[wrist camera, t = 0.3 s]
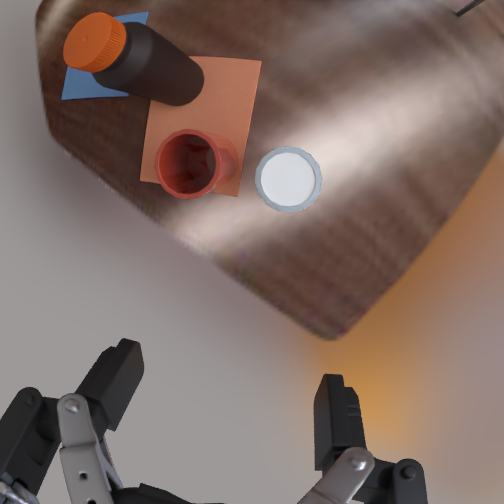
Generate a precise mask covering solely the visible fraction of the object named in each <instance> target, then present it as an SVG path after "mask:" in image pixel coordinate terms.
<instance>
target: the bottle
mask: <svg viewBox="0 0 504 504" xmlns="http://www.w3.org/2000/svg"><path fill="white" fill-rule="evenodd" d="M63 49H64V50H63V54H64V59H65V60H64V61H65V63H66V64H67V65H68V66H69V67H71V68H73V69H77V70H81V71H85V72H91V73H92V76H93V77H94V79H95V81H96V82H97V83H98V84H100V85H101V86H103V87H105V88H109V89H113V90H117V91H121V92H125V93H129V94H132V95H136V96H140V97H143V98H147V99H150V100H154V101H157V102H160V103H164V104H167V105H171V106H183V105H185V104H188V103H190V102H192V101H193V100H194V99H196V98H197V96H198V95H199V94H200V92H201V91H202V88H203V85H204V74H203V70H202V69H201V67H200V66H199V65H198V64H197V63H196V62H195V61H194V60H192V59H191V58H190V57H188V56H187V55H186V54H185V53H183V52H182V51H181V50H179V49H178V48H177V47H176V46H174V45H173V44H172V43H170V42H169V41H168V40H166V39H165V38H164V37H162V36H161V35H159V34H158V33H157V32H155V31H154V30H152V29H151V28H150V27H148V26H146V25H144V24H142V23H140V22H125V23H121V22H120V21H118V20H116V19H115V18H113V17H111V16H109V15H108V14H106V13H103V12H96V13H92V14H90V15H88V16H86V17H84V18H83V19H82V20H80V21H79V22H78V23H77V24H76V25H75V26H74V27H73V29H72V30H71V32H70V33H69V34H68V37H67V39H66V41H65V44H64V48H63Z"/></svg>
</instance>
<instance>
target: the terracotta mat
mask: <svg viewBox="0 0 504 504" xmlns="http://www.w3.org/2000/svg"><path fill="white" fill-rule="evenodd" d="M188 57H190V58H191V59H192V60H194V61H195V62H196V63H197V64H198V65H199V66H200V67H201V69H202V70H203V74H204V85H203V88H202V91H201V92H200V94H199V95H198V96H197V98H196V99H194V100H193V101H192V102H190V103H188V104H185V105H183V106H171V105H167V104H164V103H160V102H157V101H154V100H151V103H150V109H149V115H148V121H147V128H146V134H145V141H144V149H143V157H142V166H141V175H140V181H146V182H153V183H159V184H160V182H159V181H158V179H157V175H156V171H155V158H156V153H157V151H158V149H159V147H160V145H161V143H162V142H163V141H164V140H165V139H166V138H167V137H168V136H169V135H171V134H172V133H174V132H177V131H180V130H183V129H192V130H200V131H205V132H210V133H214V134H219V135H221V136H223V137H225V138H227V139H228V140H229V141H231V142H232V144H233V145H234V147H235V148H236V150H237V153H238V161H239V162H238V168H237V171H236V173H235V175H234V177H233V178H232V179H231V180H230V181H229V182H228V183H226V184H225V185H223V186H222V187H220V188H218V189H216V190H213V191H211V192H213V193H219V194H224V195H230V196H235V197H237V196H238V190H239V184H240V178H241V172H242V166H243V160H244V155H245V149H246V143H247V138H248V132H249V127H250V121H251V116H252V110H253V105H254V99H255V94H256V89H257V84H258V78H259V73H260V68H261V63H262V61H256V60H247V59H236V58H222V57H202V56H188Z"/></svg>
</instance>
